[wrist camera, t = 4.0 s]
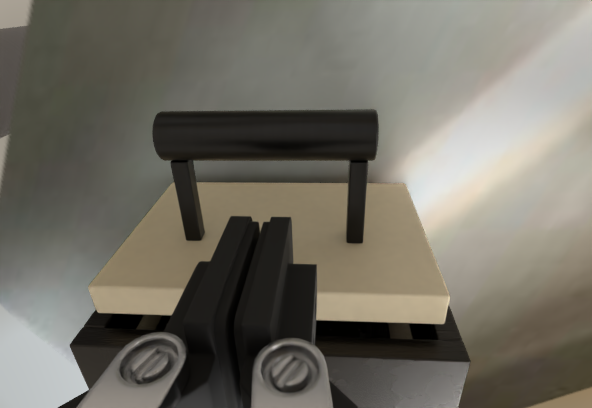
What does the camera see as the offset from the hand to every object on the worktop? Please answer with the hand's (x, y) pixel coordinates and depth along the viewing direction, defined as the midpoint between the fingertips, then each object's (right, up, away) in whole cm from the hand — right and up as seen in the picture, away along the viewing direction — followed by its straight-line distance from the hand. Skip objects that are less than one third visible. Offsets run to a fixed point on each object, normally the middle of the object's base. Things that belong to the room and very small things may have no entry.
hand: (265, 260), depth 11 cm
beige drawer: (+1, -1, +10) cm, 10 cm away
